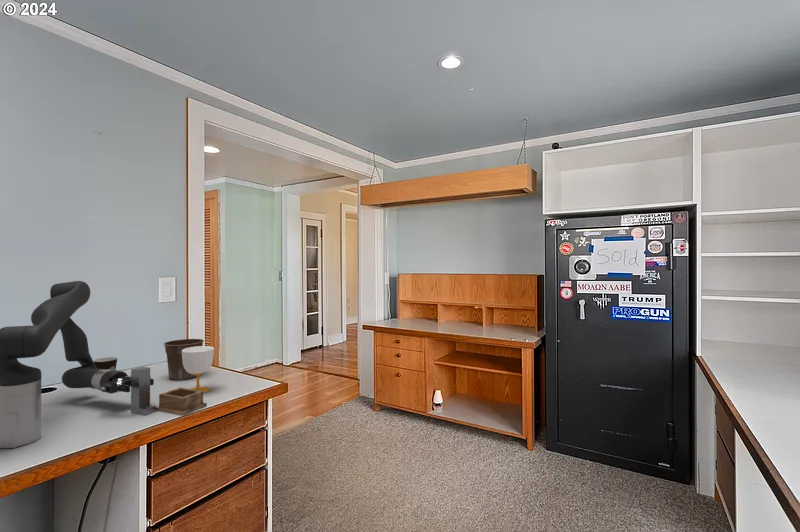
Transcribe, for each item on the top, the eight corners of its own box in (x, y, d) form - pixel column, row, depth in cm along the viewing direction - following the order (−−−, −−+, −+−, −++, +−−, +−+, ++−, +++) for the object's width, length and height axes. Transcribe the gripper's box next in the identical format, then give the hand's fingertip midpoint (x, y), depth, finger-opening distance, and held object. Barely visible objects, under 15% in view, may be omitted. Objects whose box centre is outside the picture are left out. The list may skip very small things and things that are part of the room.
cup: (204, 384, 168) (204, 344, 168) (219, 389, 162) (219, 348, 162) (175, 391, 159) (176, 349, 159) (191, 397, 152) (191, 353, 152)
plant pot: (164, 374, 184) (164, 340, 184) (203, 370, 192) (203, 337, 192) (162, 383, 170) (162, 346, 170) (204, 378, 177) (204, 343, 177)
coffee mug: (113, 378, 177) (113, 356, 177) (119, 382, 172) (120, 359, 172) (81, 384, 168) (81, 360, 168) (86, 388, 163) (86, 364, 163)
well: (182, 415, 134) (182, 399, 134) (155, 410, 138) (155, 394, 138) (206, 405, 143) (206, 390, 143) (180, 401, 148) (180, 386, 148)
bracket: (145, 415, 134) (145, 371, 134) (130, 412, 136) (131, 369, 136) (156, 411, 138) (156, 368, 138) (142, 408, 140) (142, 366, 140)
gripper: (88, 375, 136) (120, 380, 131) (129, 365, 150) (160, 369, 144) (88, 397, 136) (120, 402, 131) (129, 385, 150) (160, 390, 144)
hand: (141, 385), depth 137 cm, fingers open, 8 cm apart
